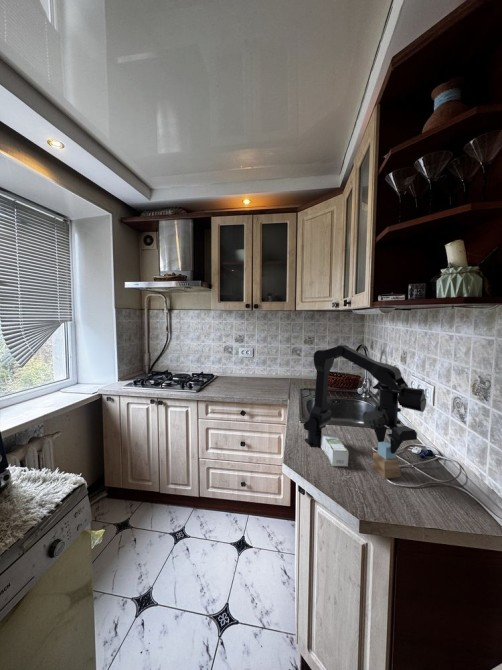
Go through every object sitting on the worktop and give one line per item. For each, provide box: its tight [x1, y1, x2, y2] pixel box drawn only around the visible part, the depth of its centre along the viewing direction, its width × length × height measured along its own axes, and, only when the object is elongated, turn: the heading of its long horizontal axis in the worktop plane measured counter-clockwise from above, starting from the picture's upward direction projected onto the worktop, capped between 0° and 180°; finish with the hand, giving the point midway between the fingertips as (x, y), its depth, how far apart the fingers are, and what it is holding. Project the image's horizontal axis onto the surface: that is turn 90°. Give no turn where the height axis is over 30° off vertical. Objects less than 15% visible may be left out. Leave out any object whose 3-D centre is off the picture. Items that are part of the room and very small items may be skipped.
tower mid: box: [372, 451, 400, 470], centre depth 89 cm, size 6×6×3 cm
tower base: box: [372, 461, 402, 480], centre depth 89 cm, size 6×6×3 cm
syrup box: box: [320, 433, 349, 467], centre depth 99 cm, size 6×6×14 cm
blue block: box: [377, 440, 398, 459], centre depth 89 cm, size 4×4×4 cm
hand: (386, 449), depth 89 cm, fingers open, 5 cm apart
